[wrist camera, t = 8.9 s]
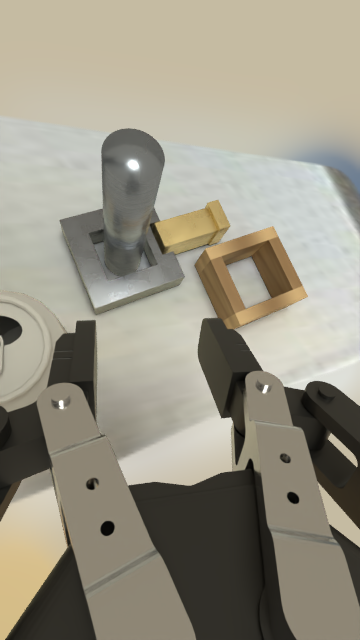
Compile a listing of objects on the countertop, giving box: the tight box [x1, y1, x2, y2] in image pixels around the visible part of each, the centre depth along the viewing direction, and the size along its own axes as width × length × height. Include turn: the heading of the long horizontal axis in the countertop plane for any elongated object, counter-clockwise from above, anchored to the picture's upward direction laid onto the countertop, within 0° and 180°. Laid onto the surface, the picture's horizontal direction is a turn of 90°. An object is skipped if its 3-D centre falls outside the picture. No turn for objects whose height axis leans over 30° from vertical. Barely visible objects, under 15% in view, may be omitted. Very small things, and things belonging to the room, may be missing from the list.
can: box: [0, 290, 67, 412], centre depth 23 cm, size 8×8×12 cm
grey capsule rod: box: [101, 129, 165, 276], centre depth 25 cm, size 4×4×15 cm
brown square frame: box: [195, 226, 308, 330], centre depth 33 cm, size 8×8×4 cm
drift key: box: [152, 200, 230, 255], centre depth 33 cm, size 7×3×4 cm, turn 113°
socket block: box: [60, 208, 185, 315], centre depth 31 cm, size 9×9×2 cm
